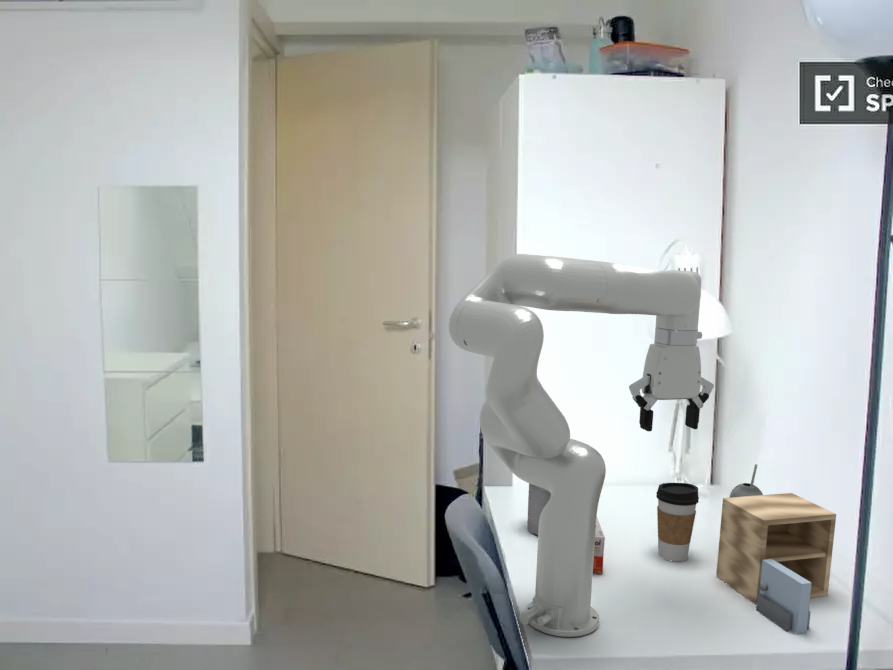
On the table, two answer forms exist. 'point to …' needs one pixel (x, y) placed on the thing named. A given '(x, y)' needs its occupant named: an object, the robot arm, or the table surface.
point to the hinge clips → (776, 612)
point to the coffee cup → (675, 519)
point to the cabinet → (774, 541)
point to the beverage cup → (746, 488)
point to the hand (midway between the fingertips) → (668, 428)
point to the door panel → (787, 592)
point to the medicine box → (598, 549)
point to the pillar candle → (536, 506)
